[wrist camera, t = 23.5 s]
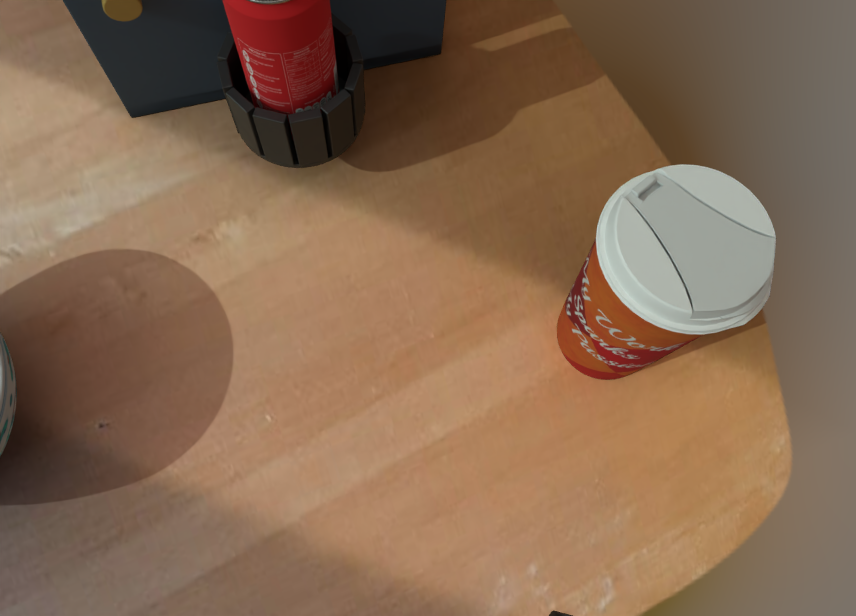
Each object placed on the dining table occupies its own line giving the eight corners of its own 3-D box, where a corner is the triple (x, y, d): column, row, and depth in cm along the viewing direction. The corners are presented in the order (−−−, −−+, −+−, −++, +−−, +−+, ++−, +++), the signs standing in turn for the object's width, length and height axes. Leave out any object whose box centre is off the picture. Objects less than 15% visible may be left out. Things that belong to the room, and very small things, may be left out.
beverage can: (267, 155, 44) (225, 16, 33) (248, 85, 46) (202, -70, 34) (350, 136, 45) (337, -7, 34) (329, 67, 46) (310, -91, 35)
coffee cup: (511, 325, 46) (566, 222, 32) (603, 250, 48) (692, 122, 34) (603, 427, 44) (705, 366, 30) (695, 344, 46) (830, 250, 32)
